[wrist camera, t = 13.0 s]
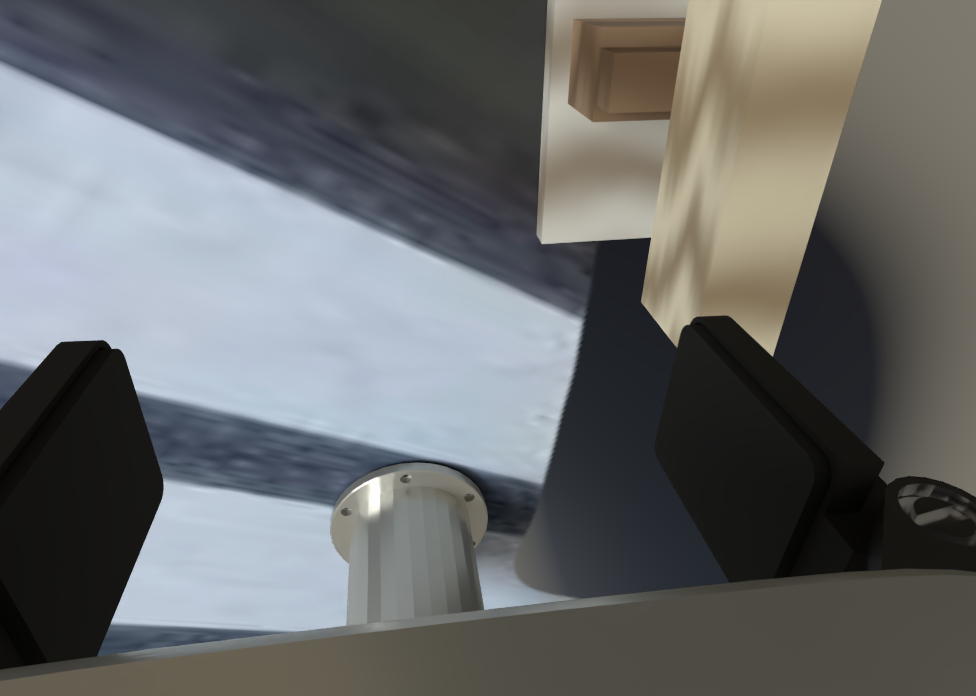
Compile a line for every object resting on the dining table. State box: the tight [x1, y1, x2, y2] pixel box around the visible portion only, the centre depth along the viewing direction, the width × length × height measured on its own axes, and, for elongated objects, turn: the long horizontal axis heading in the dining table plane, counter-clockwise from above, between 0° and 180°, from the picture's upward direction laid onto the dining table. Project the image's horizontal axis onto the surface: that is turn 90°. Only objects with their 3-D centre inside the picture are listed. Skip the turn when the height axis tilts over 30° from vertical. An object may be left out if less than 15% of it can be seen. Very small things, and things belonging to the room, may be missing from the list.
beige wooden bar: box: [641, 0, 882, 357], centre depth 24 cm, size 22×4×6 cm, turn 0°
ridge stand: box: [537, 0, 689, 244], centre depth 30 cm, size 20×12×8 cm, turn 0°
